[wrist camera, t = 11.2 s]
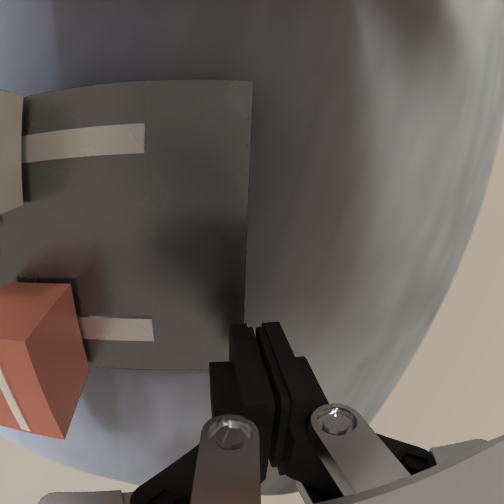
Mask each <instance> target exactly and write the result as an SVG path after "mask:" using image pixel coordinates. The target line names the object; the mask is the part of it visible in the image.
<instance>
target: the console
mask: <svg viewBox="0 0 504 504" xmlns="http://www.w3.org/2000/svg"><path fill="white" fill-rule="evenodd" d="M252 96H253V81H238V80H212V79H173V80H147V81H131V82H119V83H108V84H99V85H90V86H83V87H76V88H69V89H63V90H57V91H51V92H45V93H40V94H35V95H30V96H26V97H23V110H22V132H21V170H22V192H23V205H22V206H19V207H17V208H14V209H12V210H9V211H7V212H5V213H2V214H0V289H1V288H3V287H4V286H5V285H6V284H7V283H8V282H23V283H57V284H71V288H72V294H73V299H74V305H75V310H76V315H77V319H78V324H79V329H80V333H81V337H82V342H83V346H84V350H85V354H86V358H87V361H88V365H89V366H92V367H107V368H127V369H165V370H191V369H209V362H225V361H229V324H242V323H244V297H245V269H246V242H247V217H248V191H249V167H250V143H251V119H252Z"/></svg>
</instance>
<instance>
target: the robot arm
mask: <svg viewBox="0 0 504 504" xmlns="http://www.w3.org/2000/svg"><path fill="white" fill-rule="evenodd" d="M209 375H210V395H211V408H212V419H210V420H209V421H208V422H207V423H206V424H205V425H204V426H203V429H202V431H201V437H200V444H198V445H197V446H196V447H195V448H193V449H192V450H191V451H189V452H188V453H186V454H185V455H184V456H182V457H181V458H180V459H178V460H177V461H176V462H174V463H173V464H171V465H170V466H169V467H167V468H166V469H164V470H163V471H161V472H160V473H158V474H157V475H156V476H154V477H153V478H151V479H150V480H148V481H147V482H145V483H144V484H142V485H141V486H139V487H138V488H137V489H136V490H135V491H134V492H129V493H122V492H121V490H116V491H99V492H54V493H49V494H47V495H45V496H44V497H42V498H41V500H40V501H39V502H38V504H261V494H260V484H261V483H262V482H263V481H264V480H265V479H266V472H267V466H268V459H269V460H270V464H271V467H277V468H278V471H279V475H287V476H288V477H290V478H292V479H294V480H295V484H296V487H297V489H298V491H299V493H300V495H301V497H302V498H303V500H304V502H305V504H504V435H502V436H500V437H497V438H494V439H492V440H490V441H486V440H483V439H474V440H470V441H465V442H460V443H455V444H451V445H446V446H440V447H434V448H431V449H430V451H427V450H425V449H422V448H420V447H417V446H413V445H410V444H407V443H404V442H401V441H398V440H394V439H391V438H388V437H385V436H382V435H380V434H377V433H375V432H374V431H373V430H372V428H371V427H370V426H369V425H368V424H367V422H366V421H365V420H364V419H363V418H362V416H361V415H360V414H359V413H358V412H357V411H356V410H355V409H353V408H351V407H349V406H346V405H343V404H334V403H332V404H329V403H328V401H327V399H326V397H325V395H324V393H323V391H322V389H321V387H320V385H319V383H318V381H317V379H316V377H315V375H314V373H313V371H312V369H311V367H310V365H309V363H308V361H307V359H306V358H305V357H295V356H294V354H293V351H292V349H291V347H290V345H289V343H288V340H287V338H286V336H285V334H284V332H283V330H282V327H281V325H280V323H279V322H267V323H262V327H257V328H256V338H255V335H254V331H253V328H252V327H247V325H246V323H242V324H229V361H225V362H209Z"/></svg>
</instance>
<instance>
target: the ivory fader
mask: <svg viewBox="0 0 504 504" xmlns="http://www.w3.org/2000/svg"><path fill="white" fill-rule="evenodd" d="M23 97H24V95H21V94H17V93H12V92H8V91H4V90H0V214H2V213H5V212H7V211H9V210H12V209H14V208H17V207H19V206H22V205H23V192H22V170H21V132H22V110H23Z"/></svg>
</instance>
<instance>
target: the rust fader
mask: <svg viewBox="0 0 504 504" xmlns="http://www.w3.org/2000/svg"><path fill="white" fill-rule="evenodd" d="M89 372H90V369H89V365H88V361H87V358H86V354H85V350H84V346H83V342H82V337H81V333H80V329H79V324H78V319H77V315H76V310H75V305H74V299H73V294H72V288H71V284H57V283H23V282H8V283H7V284H6V285H5V286H4V287H3V288H1V289H0V425H2V426H5V427H9V428H13V429H17V430H21V431H25V432H29V433H34V434H39V435H43V436H48V437H54V438H59V439H65V437H66V434H67V431H68V428H69V425H70V422H71V420H72V417H73V414H74V411H75V408H76V406H77V403H78V400H79V398H80V395H81V392H82V390H83V387H84V385H85V382H86V379H87V377H88V374H89Z"/></svg>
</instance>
